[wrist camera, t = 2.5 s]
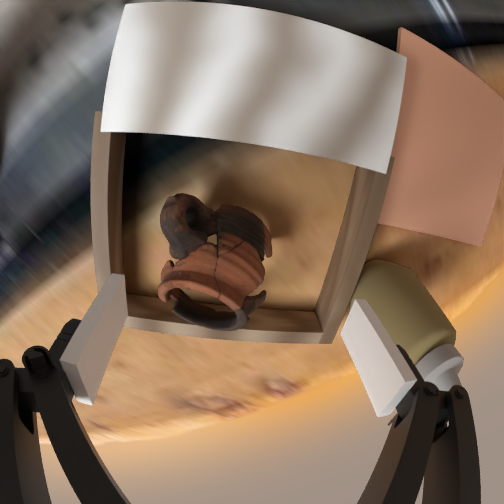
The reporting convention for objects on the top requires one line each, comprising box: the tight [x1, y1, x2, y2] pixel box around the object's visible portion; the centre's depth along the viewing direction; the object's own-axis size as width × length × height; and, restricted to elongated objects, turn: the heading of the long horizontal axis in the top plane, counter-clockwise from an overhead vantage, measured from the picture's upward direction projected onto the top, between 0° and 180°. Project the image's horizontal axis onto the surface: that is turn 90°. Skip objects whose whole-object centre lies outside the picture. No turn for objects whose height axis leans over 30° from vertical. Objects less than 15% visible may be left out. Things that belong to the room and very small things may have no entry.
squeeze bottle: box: [349, 259, 464, 391], centre depth 21 cm, size 8×8×18 cm
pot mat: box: [378, 27, 504, 247], centre depth 22 cm, size 20×20×1 cm
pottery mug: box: [158, 193, 272, 331], centre depth 23 cm, size 12×9×8 cm
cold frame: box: [91, 2, 407, 344], centre depth 21 cm, size 23×28×4 cm
